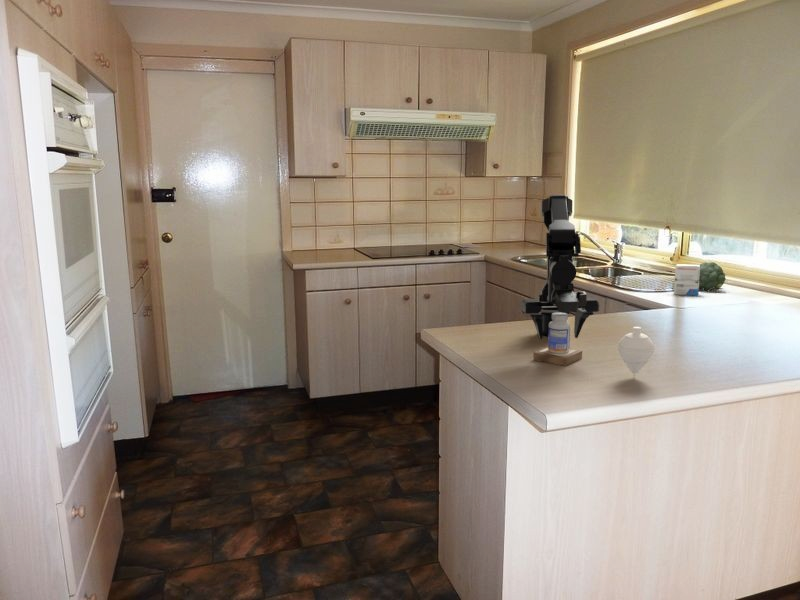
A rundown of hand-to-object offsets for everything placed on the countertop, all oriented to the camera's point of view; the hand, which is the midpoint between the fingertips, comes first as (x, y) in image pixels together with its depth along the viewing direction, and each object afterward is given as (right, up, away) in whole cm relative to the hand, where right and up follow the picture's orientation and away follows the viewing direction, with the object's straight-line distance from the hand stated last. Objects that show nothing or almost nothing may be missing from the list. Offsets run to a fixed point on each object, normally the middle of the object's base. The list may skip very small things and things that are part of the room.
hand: (558, 338), depth 159 cm
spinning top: (+14, -8, -15) cm, 22 cm away
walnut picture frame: (0, -5, +1) cm, 6 cm away
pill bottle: (0, -3, +1) cm, 4 cm away
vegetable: (+86, +14, +97) cm, 130 cm away
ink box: (+73, +12, +87) cm, 114 cm away
